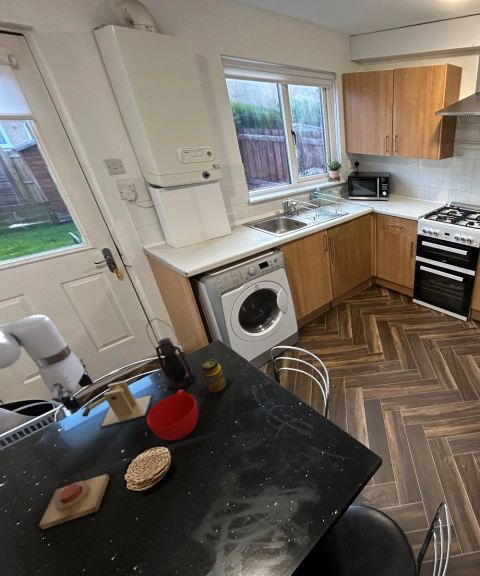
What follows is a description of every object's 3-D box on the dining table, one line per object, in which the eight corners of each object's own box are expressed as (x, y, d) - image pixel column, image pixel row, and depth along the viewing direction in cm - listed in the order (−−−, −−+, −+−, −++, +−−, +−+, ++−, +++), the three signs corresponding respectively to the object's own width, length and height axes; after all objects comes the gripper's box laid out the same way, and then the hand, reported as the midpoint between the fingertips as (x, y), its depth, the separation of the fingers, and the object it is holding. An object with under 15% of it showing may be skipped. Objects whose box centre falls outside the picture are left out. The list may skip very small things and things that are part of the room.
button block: (43, 530, 76) (34, 522, 74) (60, 494, 83) (52, 485, 81) (98, 511, 80) (91, 503, 78) (110, 478, 87) (104, 469, 85)
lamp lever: (86, 418, 99) (79, 414, 97) (92, 406, 103) (85, 402, 101) (121, 396, 100) (114, 392, 99) (126, 385, 104) (119, 381, 103)
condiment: (231, 382, 118) (223, 358, 112) (217, 399, 111) (208, 375, 105) (214, 379, 119) (206, 355, 113) (199, 396, 112) (189, 372, 106)
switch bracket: (102, 428, 100) (85, 403, 95) (111, 407, 108) (96, 383, 102) (146, 416, 104) (132, 392, 99) (152, 397, 112) (139, 373, 106)
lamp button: (60, 505, 78) (56, 501, 77) (66, 490, 80) (63, 487, 80) (78, 499, 79) (74, 495, 78) (83, 485, 82) (80, 481, 81)
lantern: (172, 395, 113) (141, 328, 98) (167, 382, 118) (138, 317, 103) (196, 384, 117) (170, 319, 103) (191, 372, 123) (165, 309, 108)
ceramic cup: (209, 401, 110) (201, 380, 106) (200, 442, 96) (191, 421, 92) (167, 410, 107) (157, 389, 102) (152, 454, 93) (140, 433, 88)
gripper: (50, 340, 95) (78, 380, 103) (18, 379, 81) (53, 422, 90) (80, 334, 97) (105, 374, 106) (54, 371, 84) (85, 413, 92)
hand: (81, 396), depth 98 cm, fingers open, 9 cm apart
